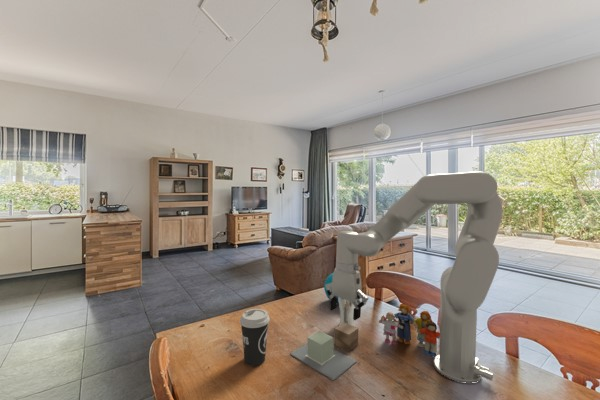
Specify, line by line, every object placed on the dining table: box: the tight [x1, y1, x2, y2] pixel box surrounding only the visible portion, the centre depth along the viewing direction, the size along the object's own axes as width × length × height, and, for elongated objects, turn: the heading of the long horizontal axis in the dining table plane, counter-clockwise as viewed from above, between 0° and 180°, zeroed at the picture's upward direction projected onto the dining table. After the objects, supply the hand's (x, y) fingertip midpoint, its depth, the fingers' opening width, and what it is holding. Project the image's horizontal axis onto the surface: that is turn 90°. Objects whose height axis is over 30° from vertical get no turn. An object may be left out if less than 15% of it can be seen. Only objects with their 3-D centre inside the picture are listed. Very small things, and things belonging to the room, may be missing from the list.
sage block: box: [307, 330, 334, 364], centre depth 90 cm, size 6×6×6 cm
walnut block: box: [333, 323, 359, 352], centre depth 97 cm, size 6×6×6 cm
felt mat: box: [289, 342, 358, 381], centre depth 90 cm, size 18×12×1 cm, turn 46°
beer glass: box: [338, 297, 355, 327], centre depth 111 cm, size 7×7×15 cm
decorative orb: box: [323, 272, 339, 305], centre depth 133 cm, size 15×15×15 cm
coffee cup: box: [239, 308, 271, 367], centre depth 88 cm, size 10×10×15 cm
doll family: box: [378, 303, 440, 358], centre depth 98 cm, size 21×10×13 cm, turn 60°
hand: (344, 313), depth 97 cm, fingers open, 9 cm apart
